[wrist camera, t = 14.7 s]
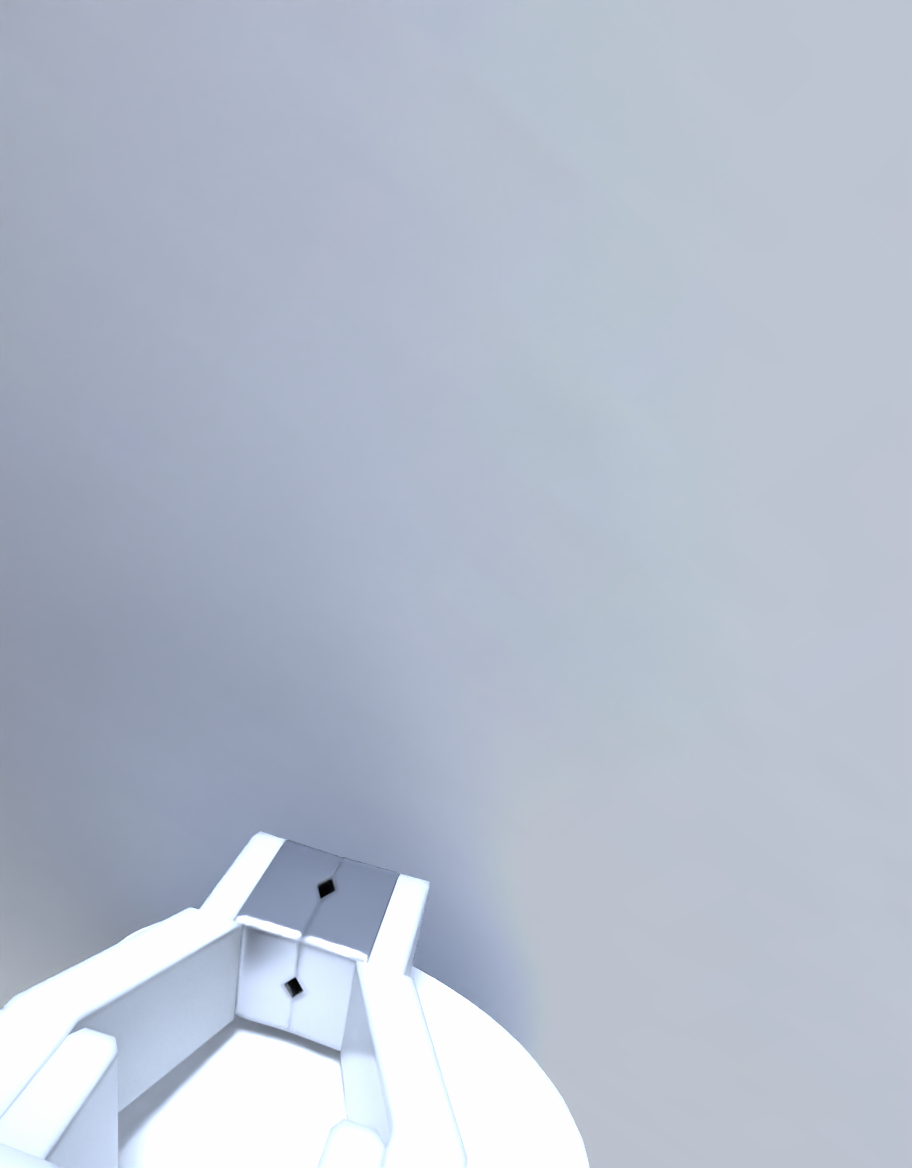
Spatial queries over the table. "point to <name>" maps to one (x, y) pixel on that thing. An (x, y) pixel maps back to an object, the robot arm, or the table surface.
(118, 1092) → the robot arm
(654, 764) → the table surface
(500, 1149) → the coffeepot
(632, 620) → the table surface
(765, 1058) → the table surface
